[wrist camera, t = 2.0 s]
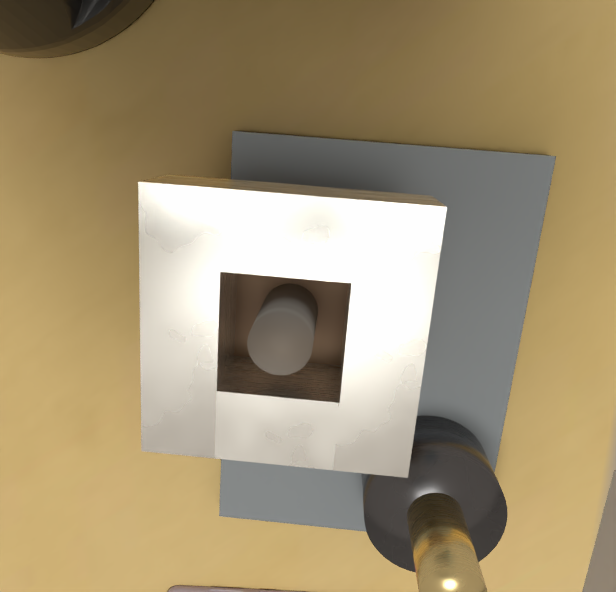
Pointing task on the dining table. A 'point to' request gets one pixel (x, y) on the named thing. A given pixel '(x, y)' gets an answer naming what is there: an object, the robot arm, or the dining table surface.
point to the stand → (289, 322)
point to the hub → (438, 509)
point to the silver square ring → (291, 264)
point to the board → (446, 306)
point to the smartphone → (218, 589)
